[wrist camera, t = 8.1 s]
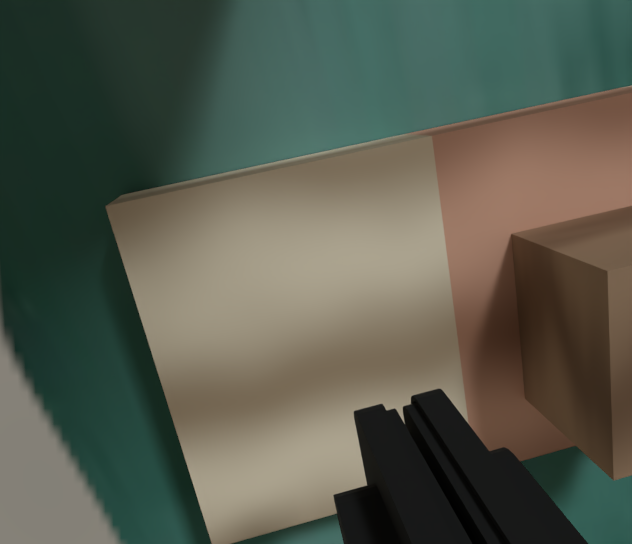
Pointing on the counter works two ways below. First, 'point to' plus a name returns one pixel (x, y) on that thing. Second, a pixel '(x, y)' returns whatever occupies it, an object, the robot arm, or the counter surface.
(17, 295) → the counter surface
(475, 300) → the trap deck
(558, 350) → the walnut block
